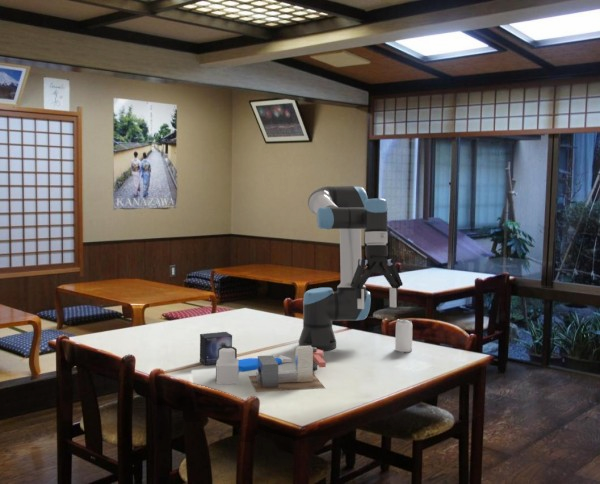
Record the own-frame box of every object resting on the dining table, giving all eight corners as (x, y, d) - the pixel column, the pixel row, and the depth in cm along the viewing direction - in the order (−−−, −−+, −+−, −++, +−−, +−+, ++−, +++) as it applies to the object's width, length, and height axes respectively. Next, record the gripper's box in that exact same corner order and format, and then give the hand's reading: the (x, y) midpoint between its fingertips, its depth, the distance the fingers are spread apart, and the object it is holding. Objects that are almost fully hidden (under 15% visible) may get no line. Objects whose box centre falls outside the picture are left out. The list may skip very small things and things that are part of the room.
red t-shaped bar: (301, 355, 241) (301, 346, 240) (320, 354, 242) (320, 345, 242) (312, 368, 224) (312, 358, 223) (333, 367, 225) (333, 357, 225)
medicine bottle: (216, 380, 228) (216, 345, 226) (238, 380, 228) (238, 344, 227) (216, 387, 220) (215, 350, 219) (238, 386, 221) (238, 350, 220)
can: (411, 352, 267) (412, 322, 265) (394, 351, 268) (395, 321, 267) (412, 348, 273) (412, 319, 272) (395, 348, 274) (396, 318, 273)
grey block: (257, 378, 227) (257, 356, 226) (272, 377, 228) (272, 355, 227) (262, 388, 216) (262, 364, 215) (278, 387, 217) (278, 364, 216)
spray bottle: (243, 367, 234) (298, 357, 250) (225, 361, 242) (279, 351, 258) (243, 376, 234) (297, 365, 250) (225, 369, 242) (279, 359, 258)
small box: (205, 366, 245) (205, 337, 244) (199, 362, 251) (199, 333, 250) (232, 363, 250) (232, 334, 249) (226, 358, 256) (226, 331, 255)
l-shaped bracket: (256, 381, 223) (256, 347, 222) (310, 378, 227) (310, 345, 226) (257, 384, 219) (257, 350, 219) (312, 381, 223) (312, 348, 222)
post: (307, 371, 240) (308, 356, 239) (316, 370, 240) (316, 356, 240) (309, 373, 237) (309, 358, 236) (318, 373, 237) (318, 358, 237)
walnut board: (248, 378, 230) (248, 375, 230) (312, 375, 234) (312, 372, 234) (256, 395, 212) (256, 391, 212) (325, 391, 217) (325, 388, 217)
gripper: (352, 243, 221) (353, 310, 220) (412, 244, 234) (413, 307, 233) (339, 244, 228) (340, 308, 227) (398, 245, 241) (398, 306, 240)
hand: (377, 308), depth 230 cm, fingers open, 13 cm apart
